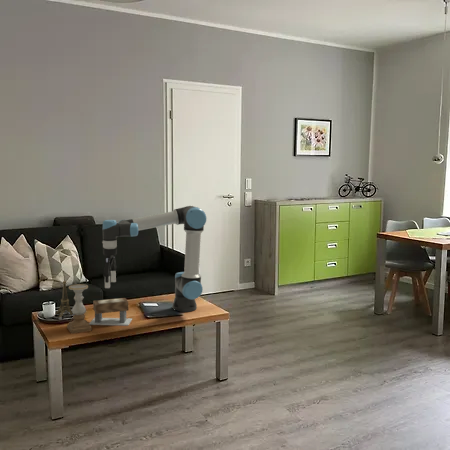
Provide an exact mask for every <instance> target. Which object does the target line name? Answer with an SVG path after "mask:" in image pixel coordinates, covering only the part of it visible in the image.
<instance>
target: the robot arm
mask: <svg viewBox="0 0 450 450" xmlns="http://www.w3.org/2000/svg"><path fill="white" fill-rule="evenodd" d="M206 224H207V215H206V212H205V211H204V210H203V209H202V208H200V207H198V206H197V207H196V206H193V205H187V206H186V205H185V206H183V207H179V208H174V209H173V210H172V211H167V212H163V213H157V214H150V215H145V216H142V217H141V216H140V217H136V218H131V219H121V220H119V221H118V222H117V220H116V219H105V220H103V221H102V241H101V243H102V254H103V256H106V258H104V266H103V275H102V277H103V278H104V288H105V289H110V288H111V283H116V282H117V278H116V276H117V273H116V271H118V268H117V267H118V266H117V261H116V255H117V254H118V248H117V247H118V245H117V244H118V243H117V242H118V241H117V240H118V239H117V238H121V237H123V238H124V237H137V236H138V235H139V231H144V230H148V229H153V228H154V229H155V228H159V227H164V226H165V227H166V226H169V225H177V226H178V225H183V231H184V232H185V233H186V234H185V247H184V248H185V249H184V267H183V268H184V271H180V272H176V273H175V275H174V279H175V280H174V285H175V286H174V299H173V301H172V305H171V307H172V308H173V309H175V310H178V311H180V312H179V313H189V312H190V313H191V312H195V311H196V310H197V308H198V307H197V302H196V300H197V299H198V298H200V296H201V295H202V294H203V285H202V283H201V280H202V275H201V274H200V273H199V272H200V257H201V256H200V254H201V238H202V236H201V235H202V233H203V232H204V228H205V227H204V226H205V225H206ZM173 309H172V310H173ZM175 310H174V311H175ZM178 311H177V312H178Z"/></svg>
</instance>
